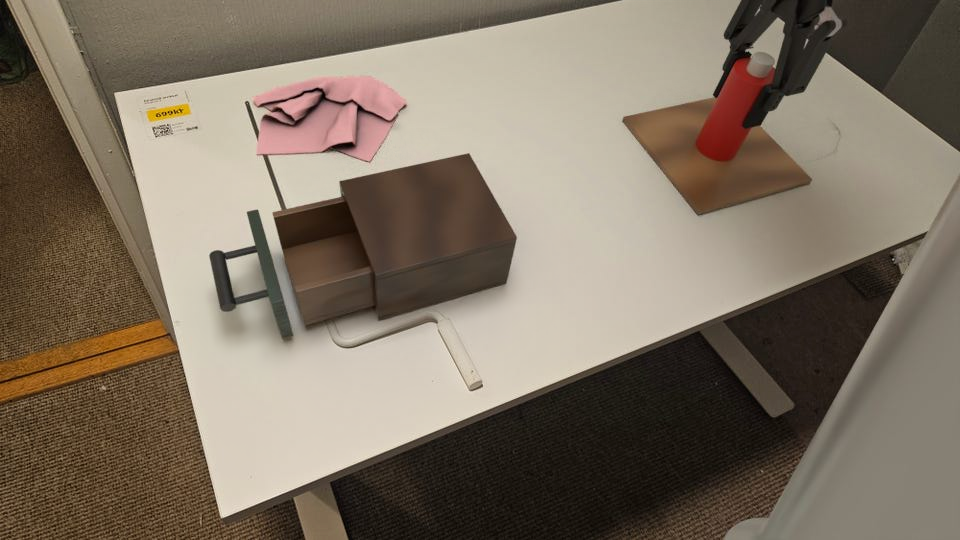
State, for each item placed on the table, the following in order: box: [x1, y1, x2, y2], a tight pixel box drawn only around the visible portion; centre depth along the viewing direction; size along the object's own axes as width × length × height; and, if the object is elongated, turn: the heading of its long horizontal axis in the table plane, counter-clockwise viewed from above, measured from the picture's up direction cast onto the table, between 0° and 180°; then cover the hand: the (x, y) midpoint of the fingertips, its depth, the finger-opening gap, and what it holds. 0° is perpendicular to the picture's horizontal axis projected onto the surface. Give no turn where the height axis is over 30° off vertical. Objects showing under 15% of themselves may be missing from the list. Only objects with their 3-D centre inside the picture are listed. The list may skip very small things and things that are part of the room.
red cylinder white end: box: [696, 51, 776, 161], centre depth 83 cm, size 6×6×15 cm
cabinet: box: [338, 152, 518, 321], centre depth 70 cm, size 16×14×9 cm
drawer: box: [208, 196, 376, 340], centre depth 66 cm, size 19×12×7 cm, turn 113°
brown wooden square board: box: [622, 96, 813, 216], centre depth 90 cm, size 20×20×1 cm
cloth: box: [252, 75, 408, 163], centre depth 85 cm, size 20×22×2 cm
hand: (736, 109), depth 84 cm, fingers closed on red cylinder white end, 6 cm apart
